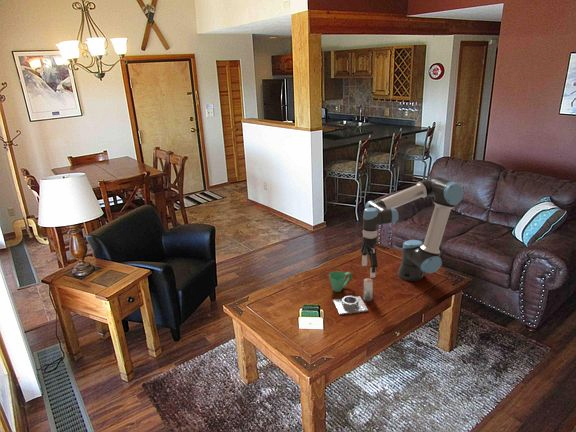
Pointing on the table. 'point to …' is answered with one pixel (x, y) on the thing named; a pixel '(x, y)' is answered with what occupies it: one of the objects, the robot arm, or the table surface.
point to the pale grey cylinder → (368, 289)
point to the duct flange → (350, 305)
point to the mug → (339, 280)
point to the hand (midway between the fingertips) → (368, 271)
